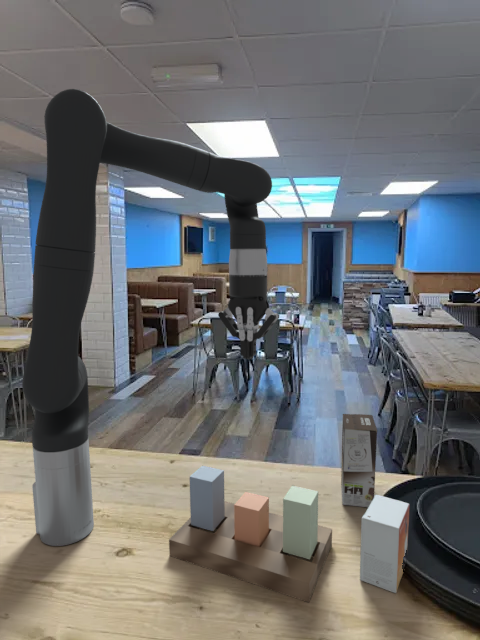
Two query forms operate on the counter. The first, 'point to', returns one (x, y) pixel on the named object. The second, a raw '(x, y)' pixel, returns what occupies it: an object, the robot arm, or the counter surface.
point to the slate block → (207, 497)
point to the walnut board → (252, 555)
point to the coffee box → (358, 459)
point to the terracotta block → (251, 519)
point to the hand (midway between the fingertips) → (248, 358)
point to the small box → (384, 542)
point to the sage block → (300, 521)
